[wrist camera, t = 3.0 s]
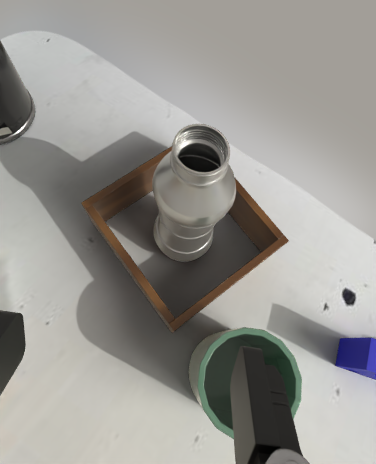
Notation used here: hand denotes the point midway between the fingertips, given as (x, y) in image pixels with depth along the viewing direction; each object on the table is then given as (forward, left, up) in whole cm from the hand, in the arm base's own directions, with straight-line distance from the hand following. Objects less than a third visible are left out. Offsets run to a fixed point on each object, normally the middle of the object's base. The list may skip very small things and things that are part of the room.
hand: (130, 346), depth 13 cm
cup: (+7, +5, -25) cm, 27 cm away
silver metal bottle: (-7, +10, -25) cm, 28 cm away
